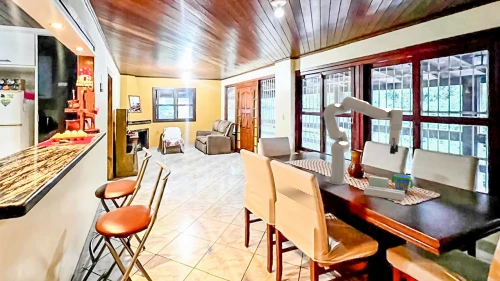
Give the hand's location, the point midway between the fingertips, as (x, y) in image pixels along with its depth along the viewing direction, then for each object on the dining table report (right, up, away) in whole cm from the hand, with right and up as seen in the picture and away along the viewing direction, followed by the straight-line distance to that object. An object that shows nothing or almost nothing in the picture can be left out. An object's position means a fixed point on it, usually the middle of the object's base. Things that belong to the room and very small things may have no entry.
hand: (393, 152), depth 201 cm
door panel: (-8, -26, +6) cm, 28 cm away
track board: (-10, -27, -6) cm, 30 cm away
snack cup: (+8, -26, +7) cm, 28 cm away
